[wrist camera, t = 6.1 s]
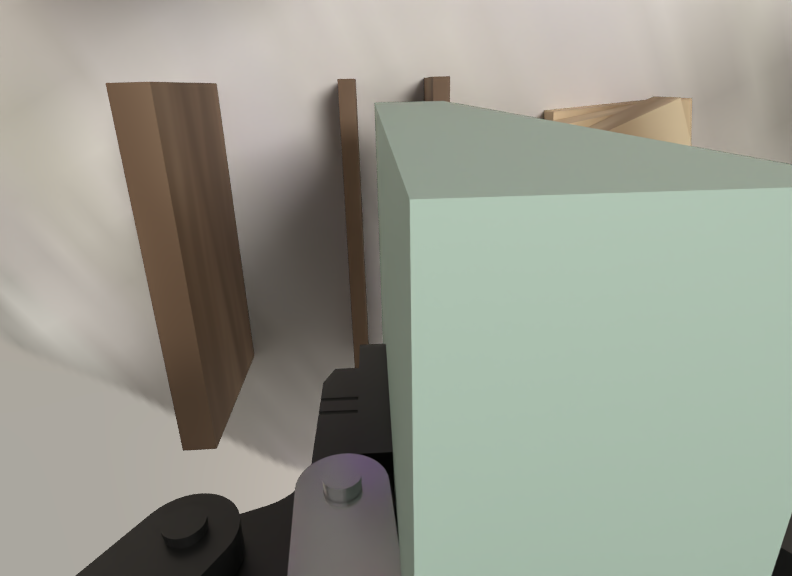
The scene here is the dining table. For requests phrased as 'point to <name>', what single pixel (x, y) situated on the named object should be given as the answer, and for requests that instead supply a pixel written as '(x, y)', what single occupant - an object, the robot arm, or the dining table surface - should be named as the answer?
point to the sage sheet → (582, 348)
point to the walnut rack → (211, 239)
